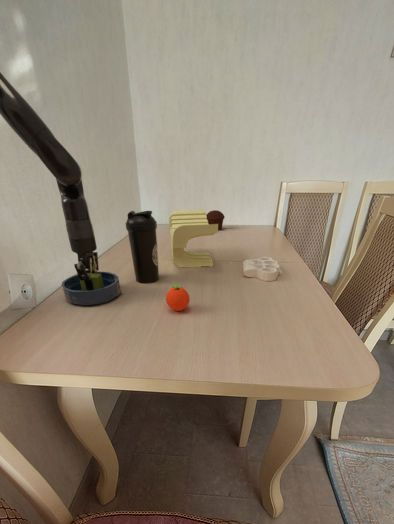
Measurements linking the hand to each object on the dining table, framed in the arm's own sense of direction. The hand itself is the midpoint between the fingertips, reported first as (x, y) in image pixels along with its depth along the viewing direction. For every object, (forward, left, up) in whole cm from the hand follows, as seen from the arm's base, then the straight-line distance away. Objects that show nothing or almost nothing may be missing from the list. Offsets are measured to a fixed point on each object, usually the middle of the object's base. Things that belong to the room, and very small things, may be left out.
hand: (92, 287), depth 99 cm
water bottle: (+16, +13, -2) cm, 20 cm away
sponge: (0, 0, -1) cm, 1 cm away
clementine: (+30, -11, -2) cm, 32 cm away
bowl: (+1, -2, -2) cm, 3 cm away
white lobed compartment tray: (+59, +21, -2) cm, 62 cm away
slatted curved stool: (+31, +33, -2) cm, 45 cm away
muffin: (+40, +95, -2) cm, 103 cm away
